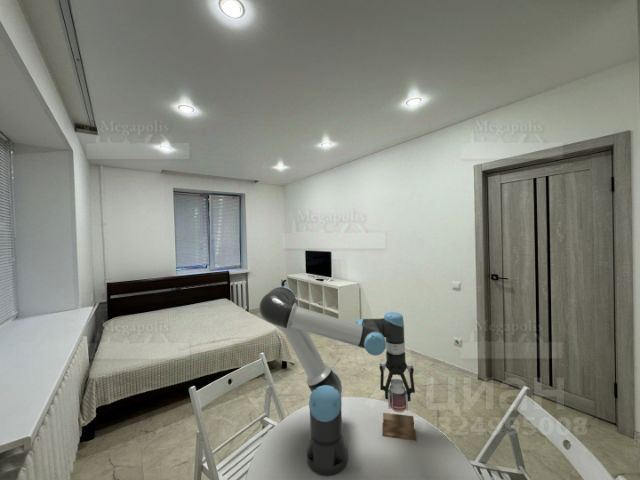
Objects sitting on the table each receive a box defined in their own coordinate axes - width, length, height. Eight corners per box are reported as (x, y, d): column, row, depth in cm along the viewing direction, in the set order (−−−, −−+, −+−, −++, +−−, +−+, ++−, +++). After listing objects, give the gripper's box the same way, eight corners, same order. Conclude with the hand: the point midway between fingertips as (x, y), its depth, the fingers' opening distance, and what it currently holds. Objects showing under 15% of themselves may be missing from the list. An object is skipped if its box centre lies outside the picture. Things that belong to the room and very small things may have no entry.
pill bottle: (409, 409, 107) (408, 382, 107) (399, 415, 104) (397, 387, 104) (397, 401, 113) (396, 375, 113) (387, 407, 109) (385, 380, 109)
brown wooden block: (382, 436, 106) (381, 421, 106) (382, 424, 113) (382, 410, 113) (416, 440, 103) (415, 425, 103) (414, 428, 110) (414, 413, 110)
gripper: (371, 353, 107) (373, 410, 107) (421, 356, 102) (424, 416, 102) (372, 346, 114) (374, 399, 114) (419, 348, 110) (421, 404, 110)
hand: (398, 407), depth 108 cm, fingers closed on pill bottle, 6 cm apart
